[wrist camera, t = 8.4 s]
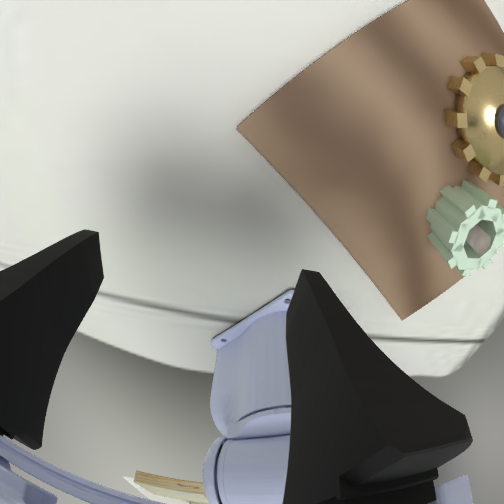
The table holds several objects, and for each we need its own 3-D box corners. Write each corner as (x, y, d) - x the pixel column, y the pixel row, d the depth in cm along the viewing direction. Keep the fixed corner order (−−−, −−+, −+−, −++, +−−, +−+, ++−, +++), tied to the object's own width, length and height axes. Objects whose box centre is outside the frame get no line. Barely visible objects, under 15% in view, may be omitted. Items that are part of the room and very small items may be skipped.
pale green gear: (441, 263, 19) (459, 289, 16) (413, 211, 17) (435, 236, 14) (491, 221, 17) (513, 243, 14) (470, 164, 15) (498, 182, 12)
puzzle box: (135, 468, 64) (155, 484, 77) (132, 481, 60) (153, 494, 73) (257, 485, 63) (254, 496, 76) (256, 498, 59) (254, 507, 72)
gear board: (398, 312, 23) (415, 352, 19) (237, 125, 16) (228, 140, 12) (547, 188, 15) (578, 210, 12) (457, -25, 8) (495, -37, 4)
